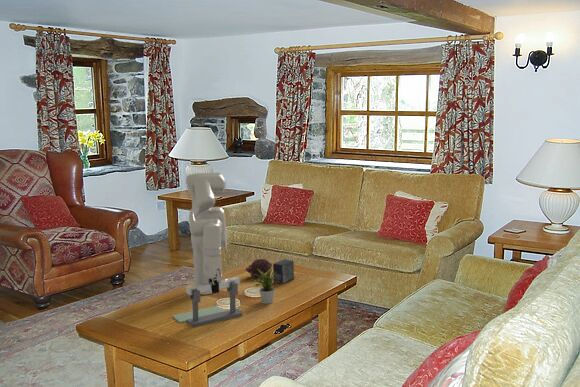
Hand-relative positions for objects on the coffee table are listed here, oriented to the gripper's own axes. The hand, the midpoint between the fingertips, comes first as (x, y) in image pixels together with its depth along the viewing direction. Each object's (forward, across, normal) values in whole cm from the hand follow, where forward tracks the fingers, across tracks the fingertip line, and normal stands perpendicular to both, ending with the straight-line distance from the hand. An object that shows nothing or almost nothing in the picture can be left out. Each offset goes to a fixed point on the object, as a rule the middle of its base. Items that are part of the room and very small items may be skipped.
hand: (213, 291), depth 265 cm
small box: (+14, -29, +54) cm, 63 cm away
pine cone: (+14, -42, +47) cm, 65 cm away
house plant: (+13, -7, +31) cm, 34 cm away
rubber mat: (+13, -8, 0) cm, 15 cm away
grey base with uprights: (+13, +1, 0) cm, 13 cm away
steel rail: (-1, 0, 0) cm, 1 cm away
